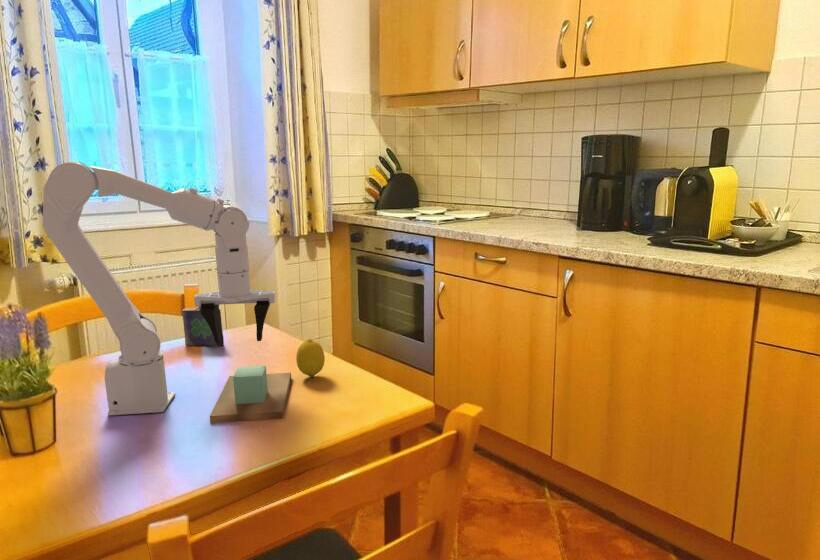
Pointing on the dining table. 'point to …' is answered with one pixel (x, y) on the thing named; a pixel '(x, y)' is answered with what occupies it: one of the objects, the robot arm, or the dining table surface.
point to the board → (253, 411)
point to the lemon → (310, 358)
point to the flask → (199, 329)
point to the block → (250, 384)
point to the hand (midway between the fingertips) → (239, 340)
